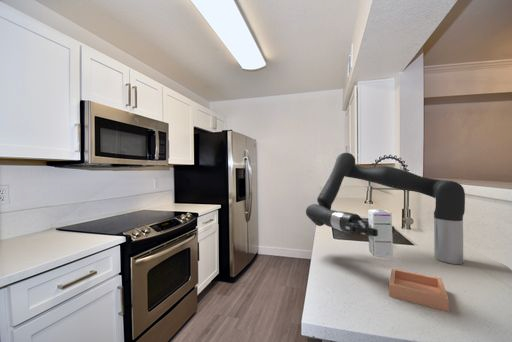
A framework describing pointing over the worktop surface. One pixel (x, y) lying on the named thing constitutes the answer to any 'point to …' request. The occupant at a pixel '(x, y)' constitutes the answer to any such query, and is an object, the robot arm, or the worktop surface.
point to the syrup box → (381, 233)
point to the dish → (418, 289)
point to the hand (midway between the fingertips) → (385, 231)
